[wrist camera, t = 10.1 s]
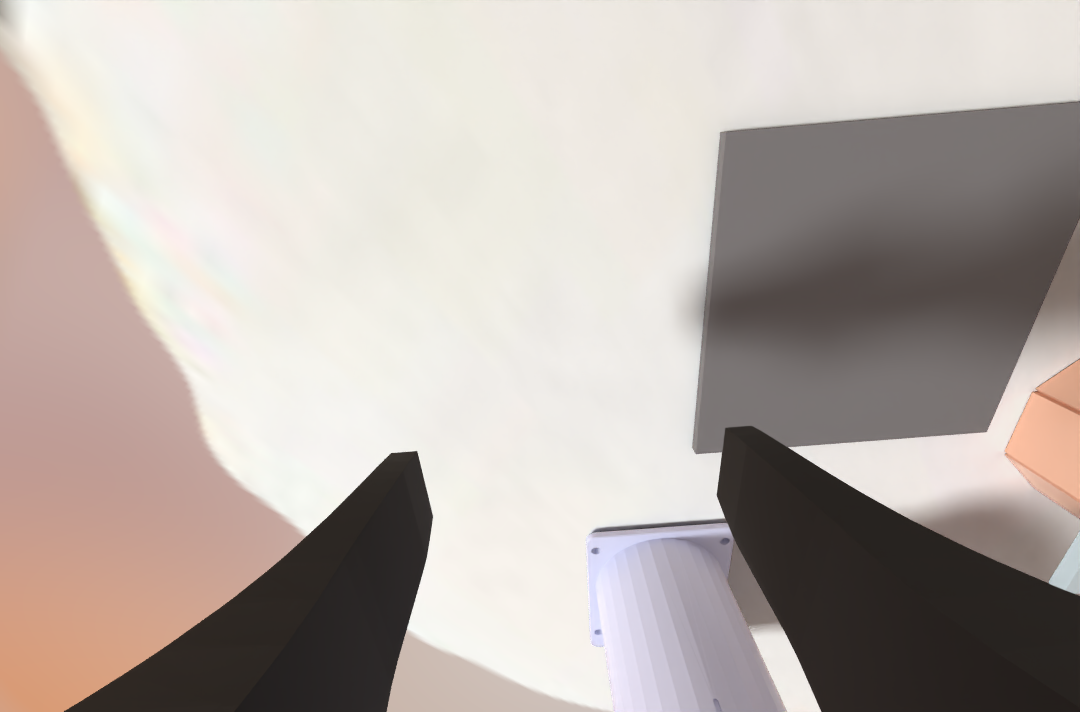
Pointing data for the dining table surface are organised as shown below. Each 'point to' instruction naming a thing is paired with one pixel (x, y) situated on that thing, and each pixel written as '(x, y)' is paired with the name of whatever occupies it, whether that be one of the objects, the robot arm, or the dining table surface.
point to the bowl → (1051, 440)
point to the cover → (1069, 569)
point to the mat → (880, 271)
